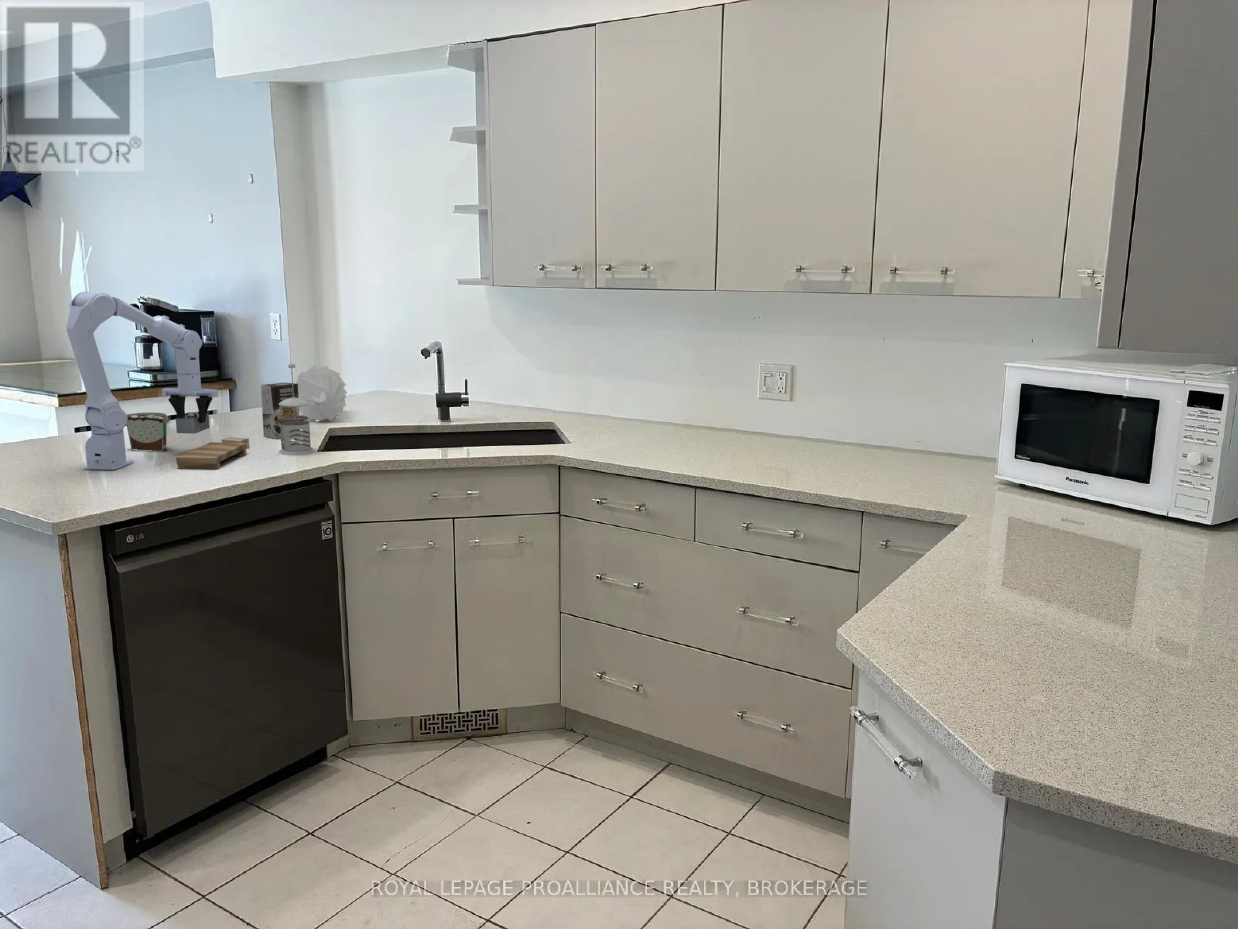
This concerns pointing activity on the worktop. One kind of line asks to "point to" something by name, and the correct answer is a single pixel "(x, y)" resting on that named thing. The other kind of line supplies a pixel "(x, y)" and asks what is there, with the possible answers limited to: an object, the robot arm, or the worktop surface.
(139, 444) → the food container
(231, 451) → the stand
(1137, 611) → the worktop surface
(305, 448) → the french press
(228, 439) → the beech offcut
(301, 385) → the spiral staircase
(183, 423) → the block
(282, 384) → the coffee box
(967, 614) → the worktop surface
